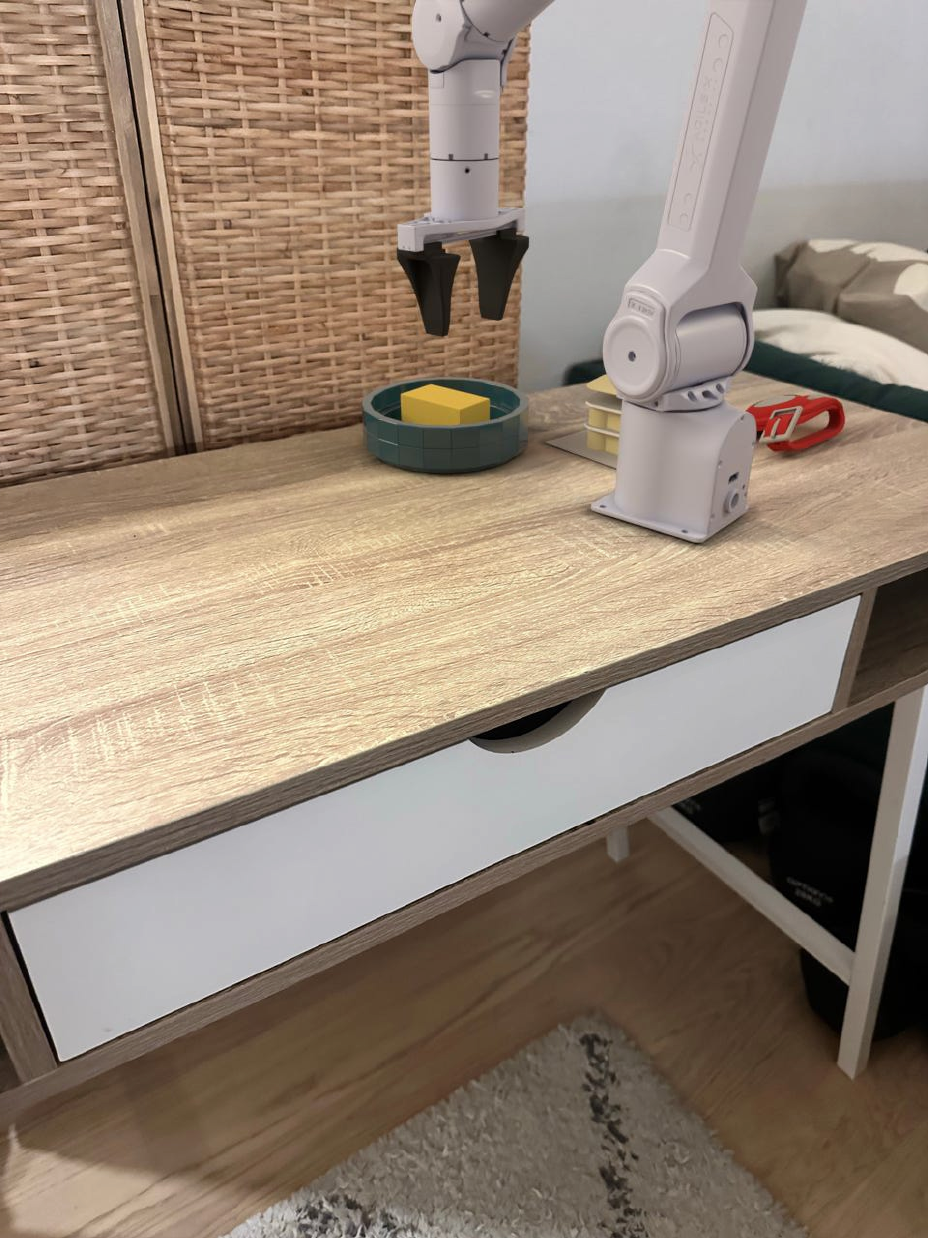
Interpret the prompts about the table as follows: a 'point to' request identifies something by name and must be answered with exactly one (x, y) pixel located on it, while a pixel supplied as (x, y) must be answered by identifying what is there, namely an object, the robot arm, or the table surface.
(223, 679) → the table surface
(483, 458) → the bowl
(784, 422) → the red buckle strap
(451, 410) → the sponge
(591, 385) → the stacked layers on plate
